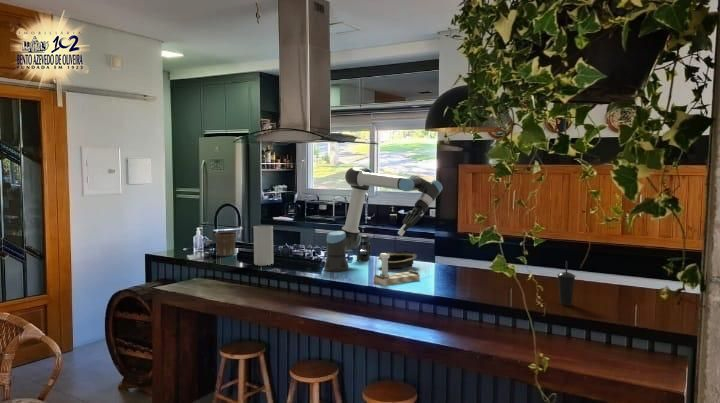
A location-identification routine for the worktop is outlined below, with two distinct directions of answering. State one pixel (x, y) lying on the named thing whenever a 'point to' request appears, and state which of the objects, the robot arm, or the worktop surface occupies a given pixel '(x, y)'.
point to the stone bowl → (400, 259)
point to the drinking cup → (566, 287)
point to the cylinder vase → (263, 245)
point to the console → (397, 278)
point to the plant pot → (225, 243)
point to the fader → (384, 265)
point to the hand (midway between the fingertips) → (399, 234)
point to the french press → (363, 256)
